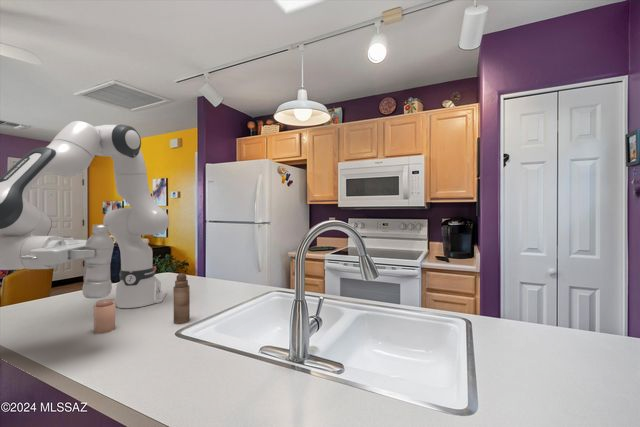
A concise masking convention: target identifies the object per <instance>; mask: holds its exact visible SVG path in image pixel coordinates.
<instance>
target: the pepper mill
mask: <svg viewBox="0 0 640 427" xmlns="http://www.w3.org/2000/svg"><path fill="white" fill-rule="evenodd" d="M187 278H188V277H187V274H186V273H183V272H180V273H178V274H177V275H176V280H175V281H174V286H173V290H172V291H173V324H174V325H175V324H176V325H184V324H187V323H189V322H190V320H191V319H190V318H191V317H190V315H191V314H190V313H191V312H190V311H191V310H190V308H191V306H190V304H191V303H190V301H191V300H190V299H191V298H190V296H191V295H190V294H191V293H190V292H191V291H190V285H189V279H187Z"/></svg>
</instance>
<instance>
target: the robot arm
mask: <svg viewBox="0 0 640 427" xmlns="http://www.w3.org/2000/svg"><path fill="white" fill-rule="evenodd" d="M141 147H142V138H141V135H140V133H139V131H138V130H137V129H136V128H134V127H133V126H130V125H127V124H102V125H92V124H90V123H88V122H86V121H82V120H74V121H71V122H69V123H68V124H67V125H65V127H63V128H62V129H61V130H60V131H59V132H58V133H57V134H56V135H55V136H54V138H52V140H51V142H50V143H49V144H48V145H47V146H41V147H40V146H39V147H36V148H33V149H31V150H30V151H29V152H28V153H26V154H25V155H24V156H23V157H22V158H21V159H19V160H18V161H17V162H16V163H15V164H14V165H13V166H12V167H11V168H9V169H8V170H7V172H5V173H4V174H3V175H1V177H0V270H1V271H4V270H5V271H12V270H19V269H25V270H53V269H56V268H57V267H59V266H60V265H62V264H64V263H65V264H66V263H69V262H74V261H77V260H81V259H84V258H86V257H94V256H96V255H97V251H96V250H85V249H86V248H85V243H86V241H87V240H88V239H74V237H61V236H57V235H49V234H50V232H51V229H52V228H53V227H52V226H53V221H52V218H51V217H50V216H49V215H47V213H45V212H43V210H41V209H40V208H39V207H36V206H35V205H34V204H32V203H31V202H29V201H28V200H27V198H26V193H27V192H28V190H29V189H31V187H32V186H33V185H34V184H35V183H36V182H37V181H38V180H39V179H40V178H41V177H42V176H43V175H44V174H45V173H50V174H52V175H57V176H61V177H76V176H80V175H82V174H83V173H84V172H85V171H86V170H87V169H88V168H89V167H90V165H91V162H93V159H94V158H95V157H110V159H111V160H112V161H113V175H114V181H115V182H114V183H115V189H116V194H117V195H118V196H119V197H120V198H122V199H123V200H125V201H126V202H127V204H128V205H129V207H121V208H116V209H112V210H111V209H110V210H109V211H107V212H106V213H105V215H104V217H103V220H102V221H103V224H102V225H109V232H108V233H110V234H111V235H112V236H113V237H114V239H115V241H116V243H117V245H118V248H119V249H118V250H119V251H120V270H119V280H120V281H119V282H117V284H116V285H115V286H116V288H115V298H114V299H115V300H113V302H114V303H115V307H117V308H119V309H120V308H121V309H133V308H134V309H135V308H141V307H147V306H151V305H154V304H159V303H162V302H163V301H164V300H165V297H166V296H167V293H168V292H167V291H166V290H162V285H161V281H160V280H159V279H158V278H157V277H156V276H155V274H156V273H155V272H156V270H157V266H154V265H153V260H154V259H153V256H154V255H153V248H152V247H151V246H150V245H148V244H147V243H145V241H144V240H143V238H142V236H153V235H159V234H163V233H164V232H166V231H167V229H168V227H169V225H170V217H169V215H168V213H167V212H166V211H165V210H164V209H162V208H161V207H160V206H158V204H157V203H156V201H155V200H154V198H153V196H152V194H151V192H150V187H149V180H148V174H147V167H146V163H145V162H146V161H145V158H144V155H143V152H142V150H141Z"/></svg>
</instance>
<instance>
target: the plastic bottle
mask: <svg viewBox="0 0 640 427" xmlns="http://www.w3.org/2000/svg"><path fill="white" fill-rule="evenodd" d="M91 232H92V234H91V235H90V236H89V238H87V239H86V240H87V241H86V243H85V248H86V249H85V250H96V251H97V255H96V256H94V257H85V258H86V262H85V263H86V269H85V277H84V281H83V285H82V289H81V290H82V295H83V297H84V298H86V299H90V300H91V299H94V300H95V299H102V298H106V297H108V296H109V295H110V294H111V292H112V288H113V284H112V280H111V262H112V257H113V251H114V247H115V243H114V240H113V239H112V237H111V236H110V235H109V233H110V232H109V225H104V224H92V230H91Z"/></svg>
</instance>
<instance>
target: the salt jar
mask: <svg viewBox="0 0 640 427" xmlns="http://www.w3.org/2000/svg"><path fill="white" fill-rule="evenodd" d="M113 301H114V300H113V299H110V298H108V299H101V300H97V301H96V302H95V305H94V306H93V333H94V334H96V333H101V334H107V333H110V332H113V331H115V330H116V305H115V303H114V302H113ZM112 330H113V331H112ZM106 332H107V333H106Z"/></svg>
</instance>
